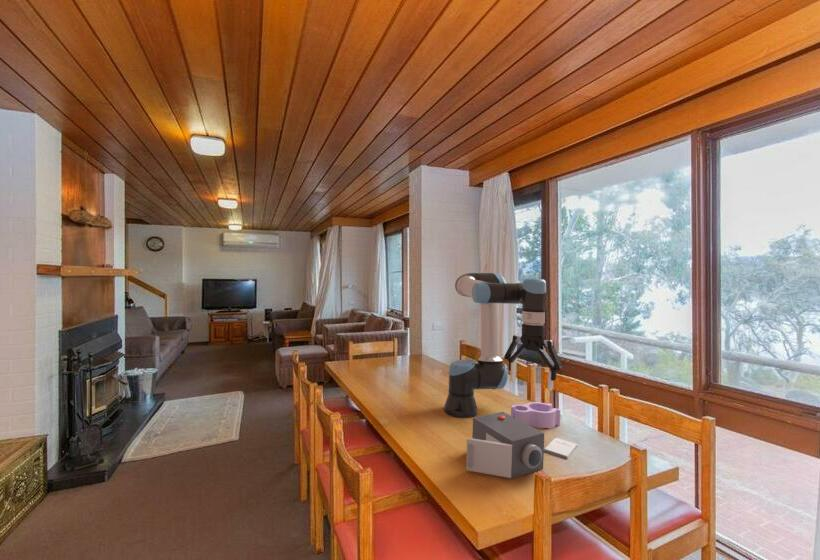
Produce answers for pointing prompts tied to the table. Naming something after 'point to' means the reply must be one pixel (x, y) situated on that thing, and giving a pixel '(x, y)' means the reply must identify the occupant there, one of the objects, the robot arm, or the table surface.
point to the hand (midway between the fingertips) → (531, 384)
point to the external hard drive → (561, 448)
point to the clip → (537, 414)
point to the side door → (489, 457)
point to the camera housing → (513, 440)
